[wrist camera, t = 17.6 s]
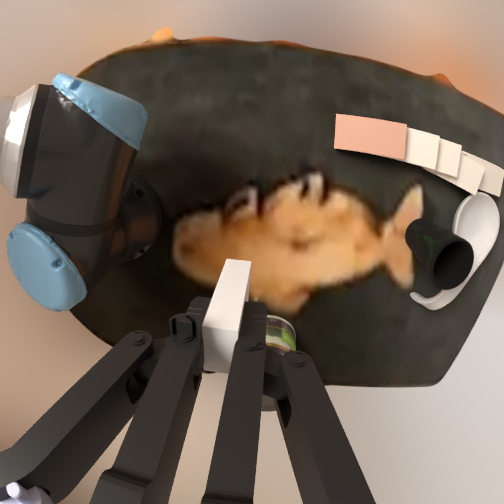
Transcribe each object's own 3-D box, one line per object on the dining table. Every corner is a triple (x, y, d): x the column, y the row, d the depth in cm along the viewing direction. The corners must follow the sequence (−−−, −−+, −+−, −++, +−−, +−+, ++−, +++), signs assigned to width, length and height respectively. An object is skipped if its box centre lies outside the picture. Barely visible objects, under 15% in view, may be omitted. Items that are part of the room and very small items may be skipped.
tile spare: (334, 148, 37) (403, 159, 34) (336, 113, 35) (406, 124, 32) (335, 148, 39) (402, 159, 35) (337, 115, 37) (405, 125, 33)
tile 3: (423, 169, 37) (475, 195, 34) (433, 139, 34) (485, 167, 32) (422, 168, 38) (472, 194, 35) (431, 139, 36) (481, 166, 33)
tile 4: (462, 183, 36) (499, 196, 35) (467, 154, 34) (504, 170, 33) (457, 181, 37) (494, 194, 37) (462, 152, 35) (499, 168, 35)
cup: (436, 252, 43) (470, 285, 32) (399, 258, 44) (428, 294, 33) (438, 210, 40) (477, 235, 29) (399, 214, 41) (433, 242, 30)
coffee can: (278, 305, 50) (277, 362, 37) (304, 343, 53) (309, 400, 40) (230, 327, 53) (216, 383, 40) (259, 361, 56) (253, 417, 43)
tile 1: (370, 153, 37) (435, 169, 33) (374, 120, 35) (439, 136, 31) (370, 153, 38) (433, 169, 35) (374, 121, 36) (437, 136, 33)
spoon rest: (463, 175, 37) (487, 184, 31) (497, 210, 39) (519, 222, 32) (396, 287, 47) (409, 309, 40) (434, 309, 48) (449, 330, 41)
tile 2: (396, 159, 37) (456, 177, 33) (401, 127, 35) (461, 145, 31) (396, 159, 38) (454, 176, 35) (400, 128, 36) (458, 145, 33)
